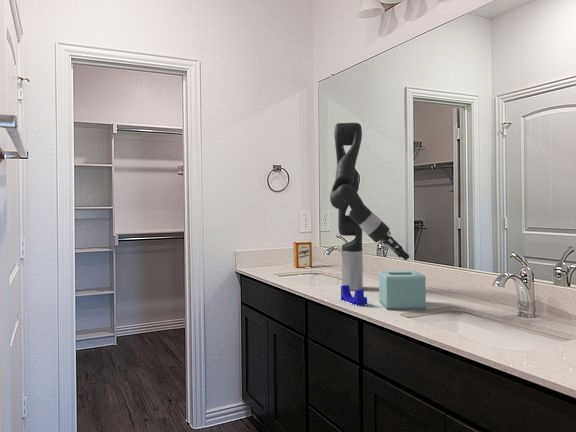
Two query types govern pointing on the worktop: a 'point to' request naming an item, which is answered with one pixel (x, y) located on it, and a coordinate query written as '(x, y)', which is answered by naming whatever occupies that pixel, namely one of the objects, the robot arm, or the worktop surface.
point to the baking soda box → (302, 254)
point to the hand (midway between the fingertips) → (404, 257)
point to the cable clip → (357, 298)
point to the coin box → (402, 290)
